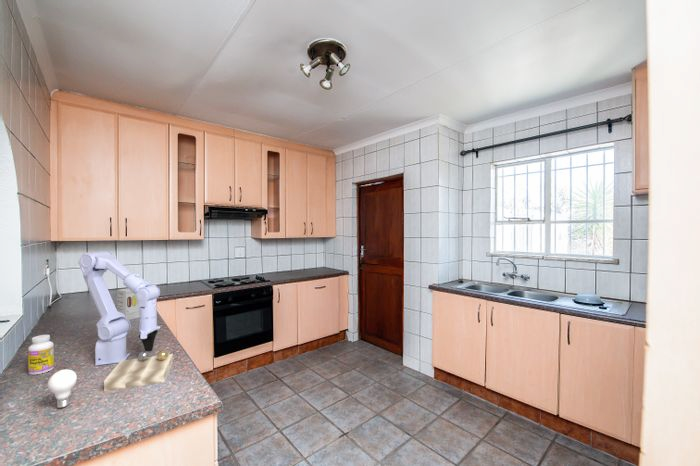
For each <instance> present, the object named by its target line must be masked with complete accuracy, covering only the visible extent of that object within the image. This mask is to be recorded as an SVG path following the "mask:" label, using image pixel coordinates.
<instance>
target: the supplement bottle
mask: <svg viewBox="0 0 700 466" xmlns="http://www.w3.org/2000/svg"><path fill="white" fill-rule="evenodd" d="M50 340H51V336H50V334H40V335H37V336H33V337H32V338H31V343H32V344H31V345H29V346H28V349H27V353H28V356H27V360H28V361H27V362H28V364H27V365H28V366H27V367H28V369H27V370H28V374H29V376H30V375H31V376H35V375H36V376H37V374H38V375H41V374H42V373H43V374H46V373H48V371H49V372H50V371H53V369H54V368H55V354H54V353H55V346H54V342H53V341H50ZM43 374H42V375H43Z"/></svg>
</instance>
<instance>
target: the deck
mask: <svg viewBox="0 0 700 466" xmlns="http://www.w3.org/2000/svg"><path fill="white" fill-rule="evenodd" d="M173 354H174V353H168V357H167V358H166V359H165V360H159V359H158V358H157V355H152V356H149V358H148V359H147V360H145V361H140V360H139V359H138V357H137V358H129V359H126V360H121V361H120V362H119V363H117V365H116V366H115V367H114V368H113V369H112V371H111V372H110V373H109V374H108V375H107V377H106V378H105V379H104V380H103V390H104V391H103V392H110V391H116V390H123V389H130V388H137V387H142V386H147V385H148V386H150V385H155V384H161V383H165V382H166V380H167V377H168V375H169V373H170V371H171V368H172V366H173V364H174V355H173Z"/></svg>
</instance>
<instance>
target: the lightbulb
mask: <svg viewBox="0 0 700 466" xmlns="http://www.w3.org/2000/svg"><path fill="white" fill-rule="evenodd" d="M77 379H78V375H77V372H76V371H74V370H72V369H70V368H69V369H67V368H65V369H60V370H57V371H56V372H54V373H53V374H52V375H51V376H50V377H49V379H48V381H47V388H48V390H49V391H50V392H51V393H53V395H54V397H55V399H56V405H57V406H56V407H57V408H58V409H59V408H61V409H63V408H65V407H67V406H69V404H70V395H71V394H72V390H73V388H74V387H75V385H76V383H77V381H78V380H77Z"/></svg>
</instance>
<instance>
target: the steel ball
mask: <svg viewBox="0 0 700 466" xmlns="http://www.w3.org/2000/svg"><path fill="white" fill-rule="evenodd" d="M149 357H150V351H145V350H143V351H140V352H139V354H138V355H137V358H138V359H139V360H140V361H145V360H147V359H148V358H149Z"/></svg>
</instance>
